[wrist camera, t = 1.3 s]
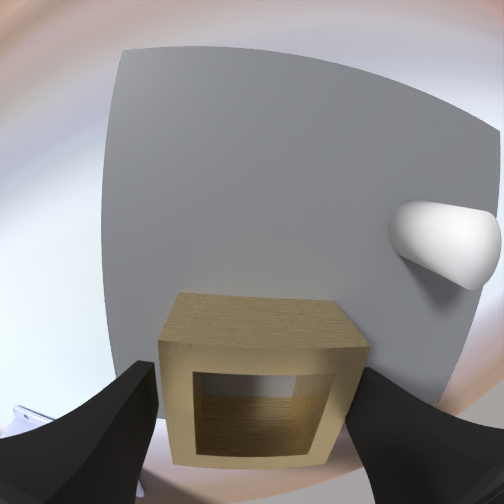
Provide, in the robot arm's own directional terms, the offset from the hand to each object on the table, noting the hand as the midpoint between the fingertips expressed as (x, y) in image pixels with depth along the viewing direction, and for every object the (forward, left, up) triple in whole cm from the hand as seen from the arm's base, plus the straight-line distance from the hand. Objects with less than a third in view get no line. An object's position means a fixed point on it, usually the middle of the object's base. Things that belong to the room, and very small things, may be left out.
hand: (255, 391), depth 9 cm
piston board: (+3, +4, -3) cm, 6 cm away
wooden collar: (0, 0, -2) cm, 2 cm away
